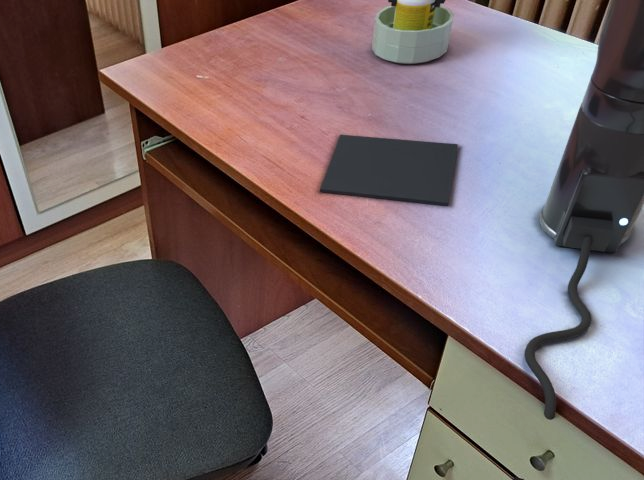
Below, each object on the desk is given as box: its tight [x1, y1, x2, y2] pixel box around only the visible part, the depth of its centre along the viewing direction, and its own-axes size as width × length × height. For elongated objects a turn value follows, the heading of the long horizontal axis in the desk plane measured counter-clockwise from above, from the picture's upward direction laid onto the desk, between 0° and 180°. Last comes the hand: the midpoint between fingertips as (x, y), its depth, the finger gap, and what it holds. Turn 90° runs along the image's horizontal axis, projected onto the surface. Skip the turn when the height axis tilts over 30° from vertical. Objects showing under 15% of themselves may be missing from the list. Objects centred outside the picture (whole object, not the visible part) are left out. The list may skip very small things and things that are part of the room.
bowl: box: [371, 4, 455, 65], centre depth 109 cm, size 12×12×6 cm
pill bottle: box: [393, 0, 436, 31], centre depth 107 cm, size 6×6×11 cm
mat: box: [319, 134, 459, 207], centre depth 88 cm, size 14×16×1 cm
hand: (415, 4), depth 106 cm, fingers closed on pill bottle, 6 cm apart
